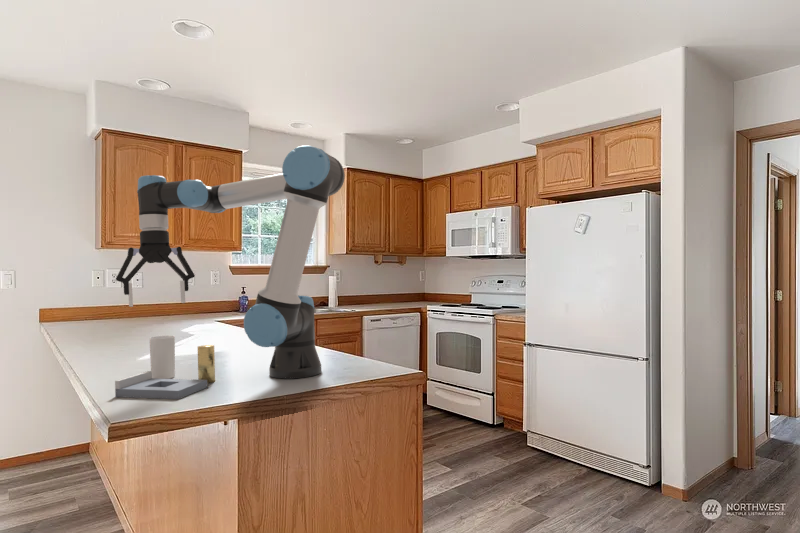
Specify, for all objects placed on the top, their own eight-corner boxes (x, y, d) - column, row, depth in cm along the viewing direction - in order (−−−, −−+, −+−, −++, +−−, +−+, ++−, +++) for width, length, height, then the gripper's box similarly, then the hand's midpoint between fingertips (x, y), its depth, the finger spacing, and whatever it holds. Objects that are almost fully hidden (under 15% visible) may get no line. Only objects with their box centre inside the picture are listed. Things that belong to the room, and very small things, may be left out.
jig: (207, 387, 136) (206, 372, 136) (178, 399, 125) (178, 382, 125) (148, 385, 140) (148, 371, 140) (115, 396, 128) (115, 380, 128)
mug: (170, 379, 147) (169, 338, 147) (146, 380, 146) (145, 339, 146) (182, 372, 157) (181, 333, 157) (160, 373, 156) (159, 334, 156)
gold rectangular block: (218, 380, 145) (217, 345, 145) (209, 383, 140) (208, 347, 140) (204, 379, 146) (203, 345, 146) (195, 383, 141) (194, 347, 141)
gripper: (197, 231, 156) (200, 300, 156) (103, 231, 143) (106, 307, 142) (202, 229, 150) (206, 301, 150) (104, 229, 136) (108, 308, 136)
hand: (157, 304), depth 146 cm, fingers open, 13 cm apart
